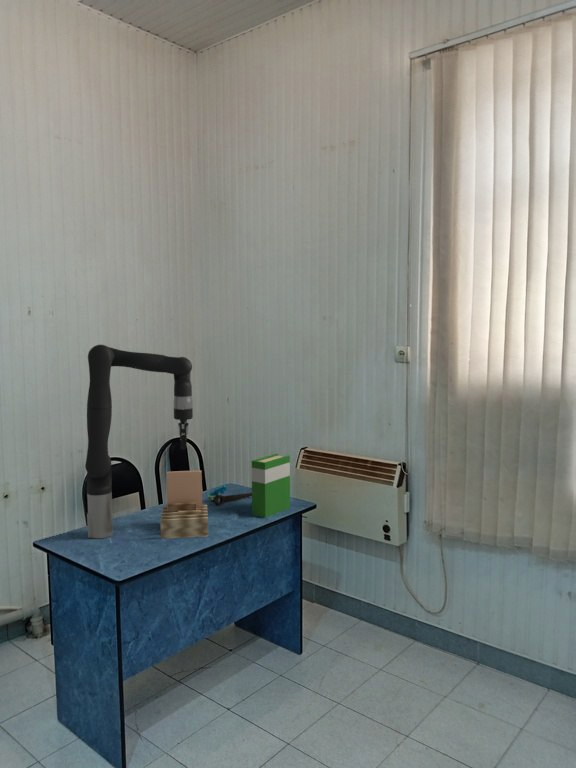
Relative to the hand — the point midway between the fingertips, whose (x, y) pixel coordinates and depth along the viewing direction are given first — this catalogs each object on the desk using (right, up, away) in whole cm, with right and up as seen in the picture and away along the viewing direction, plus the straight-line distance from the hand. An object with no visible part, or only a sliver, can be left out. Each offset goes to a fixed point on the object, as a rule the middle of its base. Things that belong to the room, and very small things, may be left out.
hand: (183, 446), depth 258 cm
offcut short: (+3, -33, -5) cm, 33 cm away
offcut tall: (0, -32, -1) cm, 32 cm away
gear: (+9, -30, +43) cm, 53 cm away
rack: (+1, -34, -3) cm, 34 cm away
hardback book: (+35, -31, +25) cm, 53 cm away
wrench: (+20, -30, +41) cm, 55 cm away
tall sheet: (0, -32, +3) cm, 32 cm away
